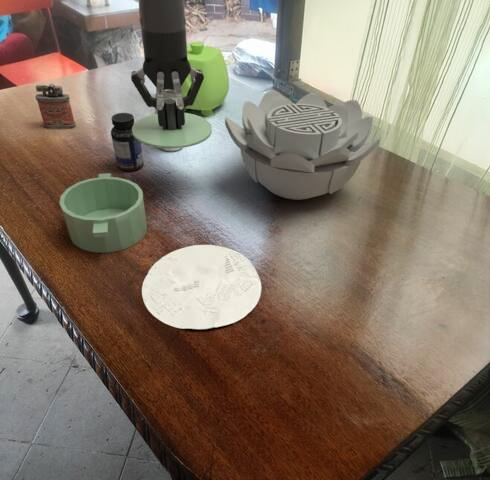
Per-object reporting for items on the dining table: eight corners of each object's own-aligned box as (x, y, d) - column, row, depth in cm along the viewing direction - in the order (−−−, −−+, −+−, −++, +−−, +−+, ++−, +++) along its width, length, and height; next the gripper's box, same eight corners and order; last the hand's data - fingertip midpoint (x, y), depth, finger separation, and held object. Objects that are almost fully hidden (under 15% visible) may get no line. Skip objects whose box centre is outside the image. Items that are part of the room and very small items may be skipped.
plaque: (209, 236, 86) (208, 229, 85) (285, 291, 77) (286, 284, 76) (119, 286, 77) (117, 279, 76) (193, 355, 68) (192, 349, 66)
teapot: (171, 86, 139) (166, 26, 127) (238, 97, 135) (239, 35, 123) (133, 117, 123) (123, 51, 111) (207, 130, 118) (205, 63, 107)
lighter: (77, 123, 119) (67, 82, 111) (74, 129, 116) (64, 87, 109) (45, 123, 118) (34, 82, 111) (42, 129, 116) (30, 87, 109)
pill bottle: (136, 157, 107) (129, 109, 99) (148, 167, 104) (142, 118, 96) (112, 163, 105) (103, 115, 97) (124, 174, 101) (115, 125, 93)
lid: (132, 153, 83) (127, 120, 79) (132, 118, 94) (127, 87, 89) (216, 149, 86) (216, 116, 81) (207, 116, 96) (206, 85, 92)
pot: (64, 265, 79) (53, 231, 74) (74, 203, 93) (65, 172, 88) (148, 258, 81) (143, 225, 76) (146, 199, 95) (142, 168, 90)
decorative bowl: (320, 145, 115) (331, 81, 104) (388, 205, 96) (409, 135, 85) (208, 163, 106) (206, 96, 95) (259, 233, 88) (264, 160, 77)
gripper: (202, 18, 80) (205, 118, 92) (121, 18, 78) (135, 120, 90) (206, 30, 75) (209, 134, 87) (120, 31, 73) (136, 137, 85)
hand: (171, 127), depth 89 cm, fingers closed on lid, 2 cm apart
